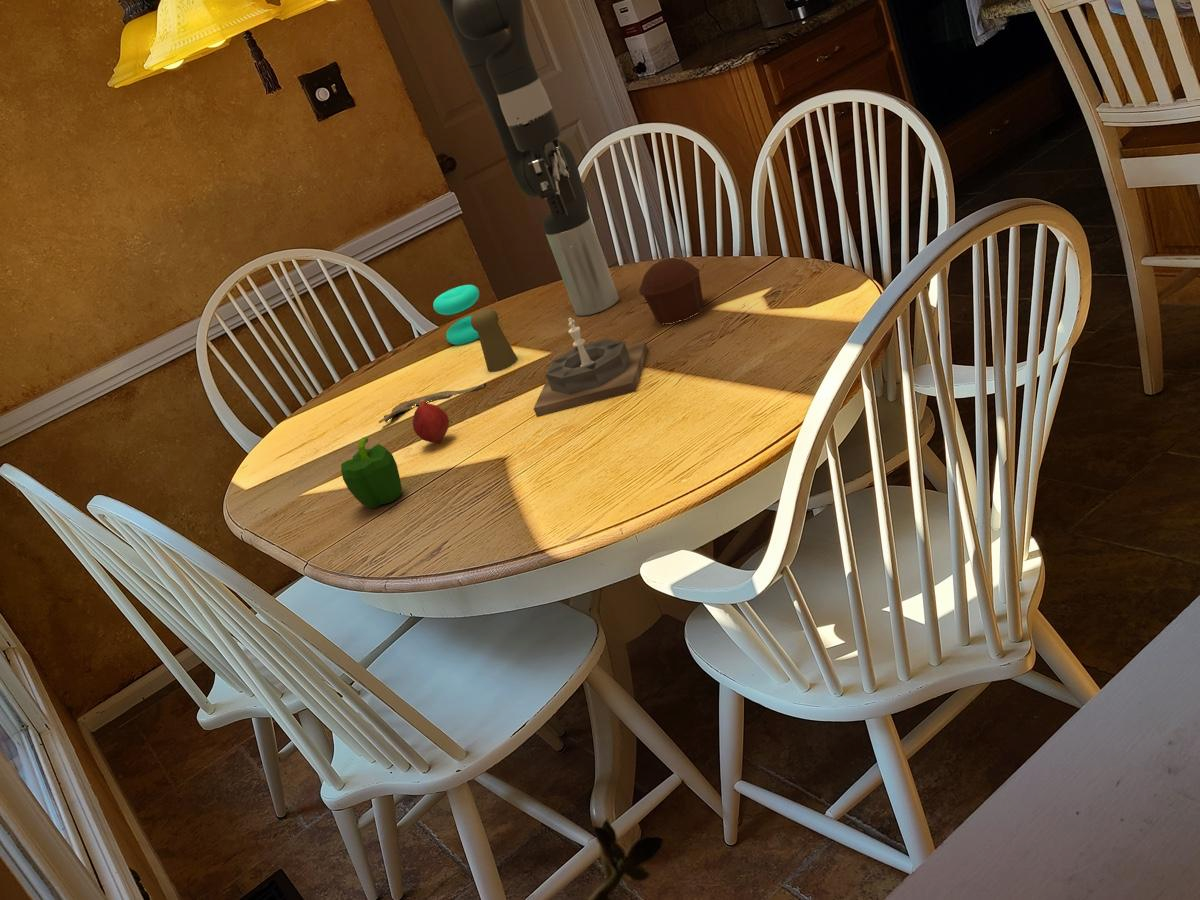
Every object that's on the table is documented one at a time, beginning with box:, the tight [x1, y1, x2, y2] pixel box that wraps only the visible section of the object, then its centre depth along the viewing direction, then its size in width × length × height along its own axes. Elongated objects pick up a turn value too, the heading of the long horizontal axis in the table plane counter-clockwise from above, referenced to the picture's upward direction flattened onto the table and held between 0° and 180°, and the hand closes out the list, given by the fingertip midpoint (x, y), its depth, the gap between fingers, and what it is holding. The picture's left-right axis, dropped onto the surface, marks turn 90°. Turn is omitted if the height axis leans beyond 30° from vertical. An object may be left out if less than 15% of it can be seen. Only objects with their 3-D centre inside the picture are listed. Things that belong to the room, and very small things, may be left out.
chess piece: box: [568, 317, 594, 367], centre depth 182 cm, size 5×5×10 cm
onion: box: [412, 399, 450, 444], centre depth 183 cm, size 6×6×8 cm
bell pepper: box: [340, 436, 403, 509], centre depth 169 cm, size 8×8×10 cm
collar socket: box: [533, 338, 649, 417], centre depth 184 cm, size 17×17×4 cm
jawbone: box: [378, 383, 487, 424], centre depth 205 cm, size 9×20×2 cm, turn 101°
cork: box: [471, 308, 519, 373], centre depth 207 cm, size 6×6×11 cm
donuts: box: [432, 284, 480, 346], centre depth 231 cm, size 10×10×10 cm
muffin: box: [638, 257, 705, 325], centre depth 198 cm, size 12×11×10 cm
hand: (566, 209), depth 182 cm, fingers open, 8 cm apart
